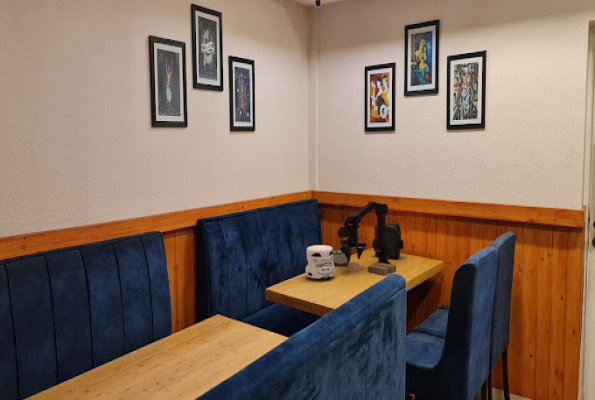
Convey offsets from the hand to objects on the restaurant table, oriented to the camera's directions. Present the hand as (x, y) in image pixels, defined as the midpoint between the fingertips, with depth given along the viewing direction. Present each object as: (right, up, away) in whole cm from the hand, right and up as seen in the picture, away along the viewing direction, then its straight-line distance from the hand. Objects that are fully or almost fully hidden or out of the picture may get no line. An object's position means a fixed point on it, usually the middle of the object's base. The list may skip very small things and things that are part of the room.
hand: (353, 260), depth 288 cm
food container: (-6, -5, +14) cm, 16 cm away
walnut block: (+17, -7, -3) cm, 19 cm away
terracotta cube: (0, -7, +1) cm, 7 cm away
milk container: (-21, -9, -10) cm, 25 cm away
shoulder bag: (+28, -2, +31) cm, 42 cm away
